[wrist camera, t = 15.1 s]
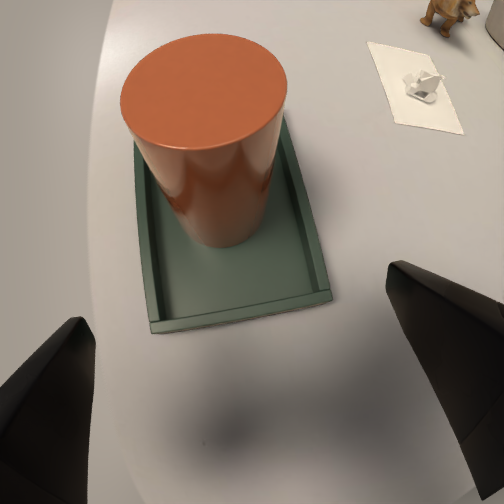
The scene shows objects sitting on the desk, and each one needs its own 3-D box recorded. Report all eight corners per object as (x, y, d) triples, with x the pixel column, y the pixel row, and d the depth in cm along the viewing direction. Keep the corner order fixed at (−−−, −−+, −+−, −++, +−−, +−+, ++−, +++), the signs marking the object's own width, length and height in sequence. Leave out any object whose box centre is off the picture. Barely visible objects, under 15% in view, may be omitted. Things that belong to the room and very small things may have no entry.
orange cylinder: (280, 228, 18) (318, 117, 8) (193, 262, 18) (137, 178, 8) (245, 153, 19) (248, 20, 10) (165, 183, 19) (110, 63, 9)
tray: (323, 304, 18) (333, 300, 16) (161, 334, 17) (150, 334, 15) (273, 112, 21) (276, 92, 19) (141, 134, 20) (133, 116, 18)
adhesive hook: (407, 100, 22) (422, 76, 19) (398, 78, 22) (411, 54, 19) (436, 106, 22) (452, 84, 19) (427, 84, 23) (441, 62, 19)
